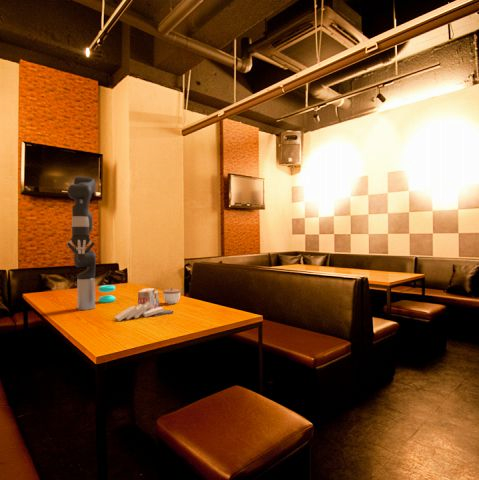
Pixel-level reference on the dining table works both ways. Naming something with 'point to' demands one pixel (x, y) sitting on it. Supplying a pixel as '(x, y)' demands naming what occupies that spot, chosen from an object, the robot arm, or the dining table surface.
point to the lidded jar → (171, 295)
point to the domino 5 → (164, 313)
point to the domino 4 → (152, 311)
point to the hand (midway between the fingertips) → (80, 261)
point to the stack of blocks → (148, 297)
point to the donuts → (108, 297)
